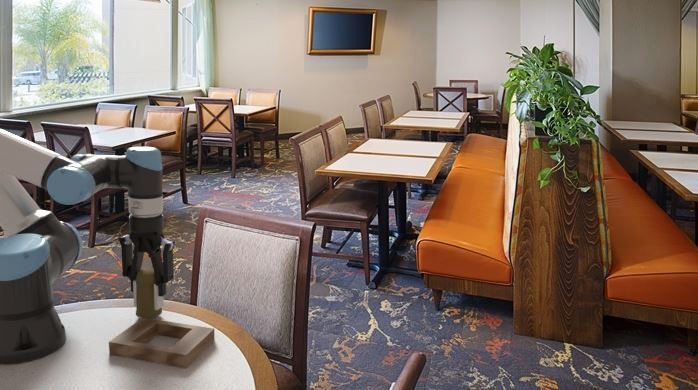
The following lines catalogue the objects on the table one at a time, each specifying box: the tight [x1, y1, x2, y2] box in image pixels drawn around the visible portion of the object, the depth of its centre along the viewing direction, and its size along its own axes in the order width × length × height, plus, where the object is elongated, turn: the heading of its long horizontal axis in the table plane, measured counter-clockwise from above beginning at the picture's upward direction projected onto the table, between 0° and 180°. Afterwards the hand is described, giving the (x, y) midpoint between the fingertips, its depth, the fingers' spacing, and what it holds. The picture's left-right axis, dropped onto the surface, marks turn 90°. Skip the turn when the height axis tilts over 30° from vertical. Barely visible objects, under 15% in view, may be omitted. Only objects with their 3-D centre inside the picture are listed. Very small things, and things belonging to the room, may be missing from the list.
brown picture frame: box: [108, 318, 216, 369], centre depth 115 cm, size 18×12×3 cm, turn 77°
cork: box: [135, 267, 163, 319], centre depth 127 cm, size 6×6×11 cm
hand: (148, 305), depth 128 cm, fingers closed on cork, 5 cm apart
